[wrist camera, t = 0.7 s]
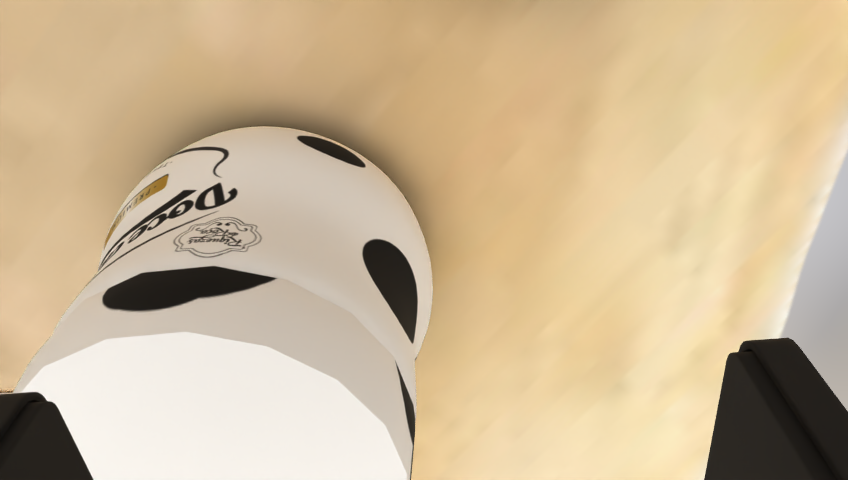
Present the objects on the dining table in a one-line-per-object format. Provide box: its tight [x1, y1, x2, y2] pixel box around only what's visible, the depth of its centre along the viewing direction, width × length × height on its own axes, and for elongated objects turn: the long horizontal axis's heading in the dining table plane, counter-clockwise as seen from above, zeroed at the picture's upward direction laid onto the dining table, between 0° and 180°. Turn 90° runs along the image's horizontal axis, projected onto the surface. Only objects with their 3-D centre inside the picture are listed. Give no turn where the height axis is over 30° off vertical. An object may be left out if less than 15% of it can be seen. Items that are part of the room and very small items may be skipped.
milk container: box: [13, 126, 433, 480], centre depth 33 cm, size 17×17×18 cm
